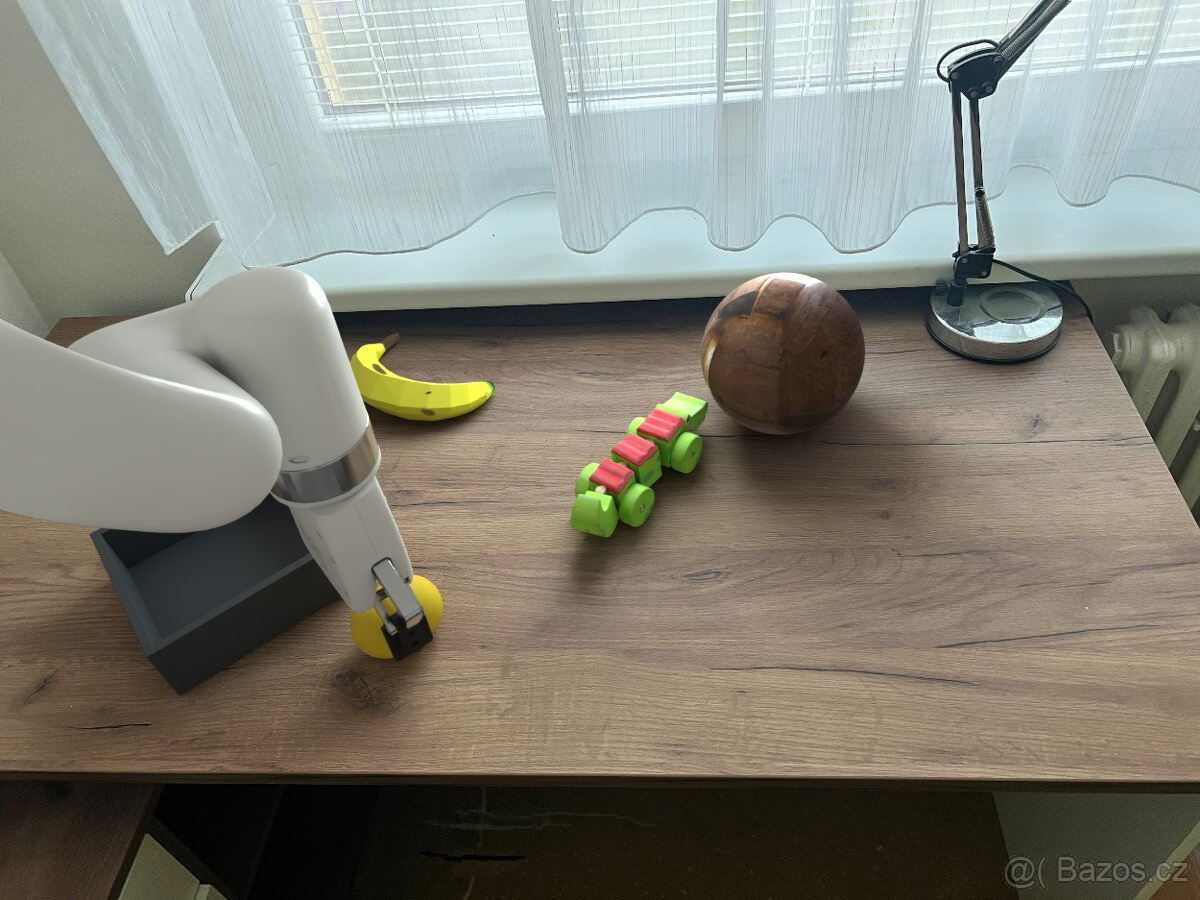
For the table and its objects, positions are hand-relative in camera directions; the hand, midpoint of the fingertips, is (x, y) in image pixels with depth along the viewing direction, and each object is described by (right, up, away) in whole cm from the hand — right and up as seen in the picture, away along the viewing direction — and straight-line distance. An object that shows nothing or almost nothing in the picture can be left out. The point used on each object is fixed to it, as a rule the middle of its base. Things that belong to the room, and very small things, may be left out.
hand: (383, 608), depth 69 cm
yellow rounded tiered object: (+1, -3, +4) cm, 5 cm away
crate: (-15, +1, +10) cm, 18 cm away
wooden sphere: (+35, +16, +19) cm, 43 cm away
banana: (-2, +20, +28) cm, 34 cm away
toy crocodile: (+21, +9, +14) cm, 27 cm away
